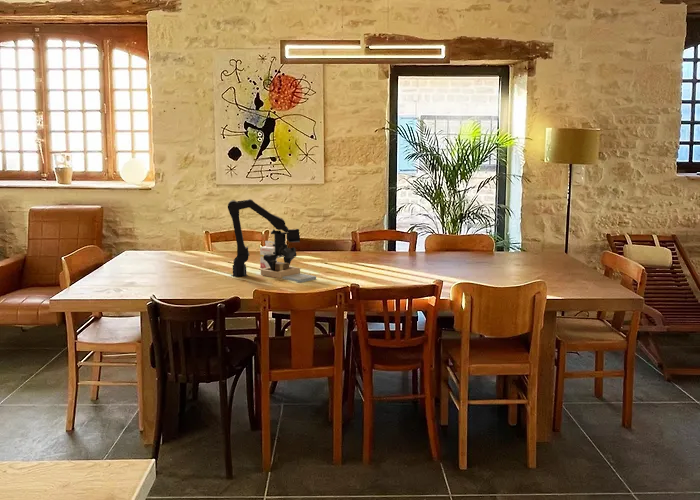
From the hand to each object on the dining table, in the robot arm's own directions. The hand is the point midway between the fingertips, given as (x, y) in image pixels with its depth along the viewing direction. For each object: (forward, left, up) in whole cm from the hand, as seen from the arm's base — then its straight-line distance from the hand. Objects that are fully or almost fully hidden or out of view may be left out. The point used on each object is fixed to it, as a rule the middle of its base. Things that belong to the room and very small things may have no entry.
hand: (280, 271), depth 391 cm
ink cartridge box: (+10, +20, -2) cm, 22 cm away
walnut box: (0, 0, -1) cm, 1 cm away
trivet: (-1, -15, -2) cm, 15 cm away
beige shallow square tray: (0, 0, -2) cm, 2 cm away
